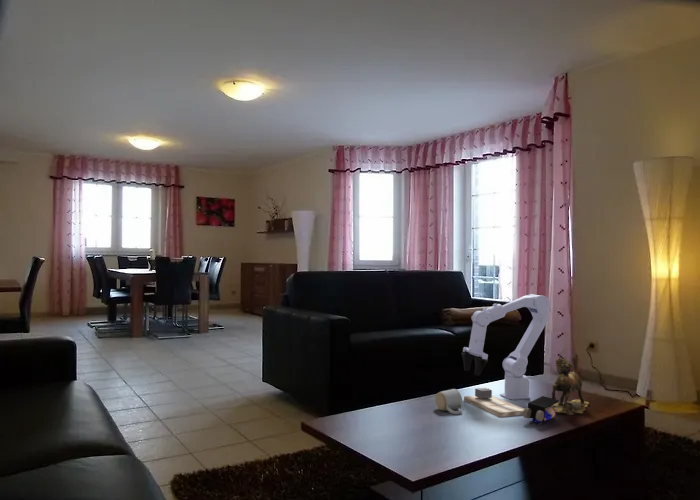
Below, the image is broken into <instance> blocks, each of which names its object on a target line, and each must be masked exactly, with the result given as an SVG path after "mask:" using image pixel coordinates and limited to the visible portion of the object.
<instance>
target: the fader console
mask: <svg viewBox="0 0 700 500" xmlns="http://www.w3.org/2000/svg"><path fill="white" fill-rule="evenodd" d="M463 401H464V402H467V403H468V404H471V405H473V406H476V407H478V408H480V409H482V410H484V411H486V412H488V413H490V414H493V415H495V416H496V417H500V418H503V417H513V416H523V411H524V409H525V408H523V407H520V406H519V405H517V404H513V403H511V402H508V401H506V400H504V399H501V398H499V397H497V396H494V395H492V398H484V399H480V398H478V397H476V396H475V395H466V396H463Z"/></svg>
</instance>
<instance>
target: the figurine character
mask: <svg viewBox="0 0 700 500" xmlns="http://www.w3.org/2000/svg"><path fill="white" fill-rule="evenodd" d="M558 402H560V399H552V397H548V396H540V397H538V398H536V399H533V400H532V401H529V402H527V407H525V408H523V409H524V411H523V415H522V416H523V418H524V419H532V420H531V421H529V424H532V425H533V423H534V422H535V423H537V426H538V427H539V426H540V425H542V424H543V423H544V422H545V421H549V420H551V419H552V420H553V418H555V416H556V413H555V409H554V408H555V407H554V406H553V405H554V404H556V403H558Z"/></svg>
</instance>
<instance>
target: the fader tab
mask: <svg viewBox="0 0 700 500" xmlns="http://www.w3.org/2000/svg"><path fill="white" fill-rule="evenodd" d="M492 394H493V390H492V389H490V388H488V387H477V388H474V396H476V397H478V398H480V399H484V398H492V396H493V395H492Z"/></svg>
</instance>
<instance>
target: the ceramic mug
mask: <svg viewBox="0 0 700 500" xmlns="http://www.w3.org/2000/svg"><path fill="white" fill-rule="evenodd" d="M434 398H435V399H434V402H435V404H436V408H437V409H438V410H440V411H442V412H446V411H448V412H449V413H450V414H452V415H461V413H462V411H463V406H462V405H463V398H462V395H461V393H460V391H459V390H458V389H456V388H451V389H447V390H442V391H439V392H437V393H436V395H435V397H434Z"/></svg>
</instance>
